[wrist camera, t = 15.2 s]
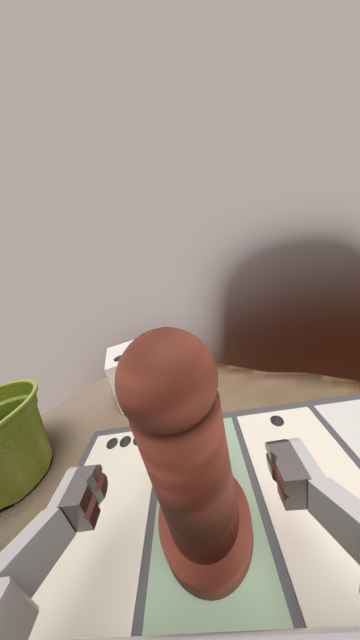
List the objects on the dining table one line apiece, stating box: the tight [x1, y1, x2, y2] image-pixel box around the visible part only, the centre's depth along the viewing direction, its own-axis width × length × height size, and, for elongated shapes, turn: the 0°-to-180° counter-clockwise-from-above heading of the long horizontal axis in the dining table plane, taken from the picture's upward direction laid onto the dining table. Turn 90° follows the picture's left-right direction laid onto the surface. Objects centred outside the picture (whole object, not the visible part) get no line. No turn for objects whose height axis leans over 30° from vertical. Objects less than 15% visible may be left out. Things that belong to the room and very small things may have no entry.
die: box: [105, 340, 133, 414], centre depth 27 cm, size 7×7×7 cm
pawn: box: [115, 327, 253, 601], centre depth 10 cm, size 6×6×14 cm
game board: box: [28, 394, 360, 640], centre depth 12 cm, size 33×18×1 cm, turn 89°
